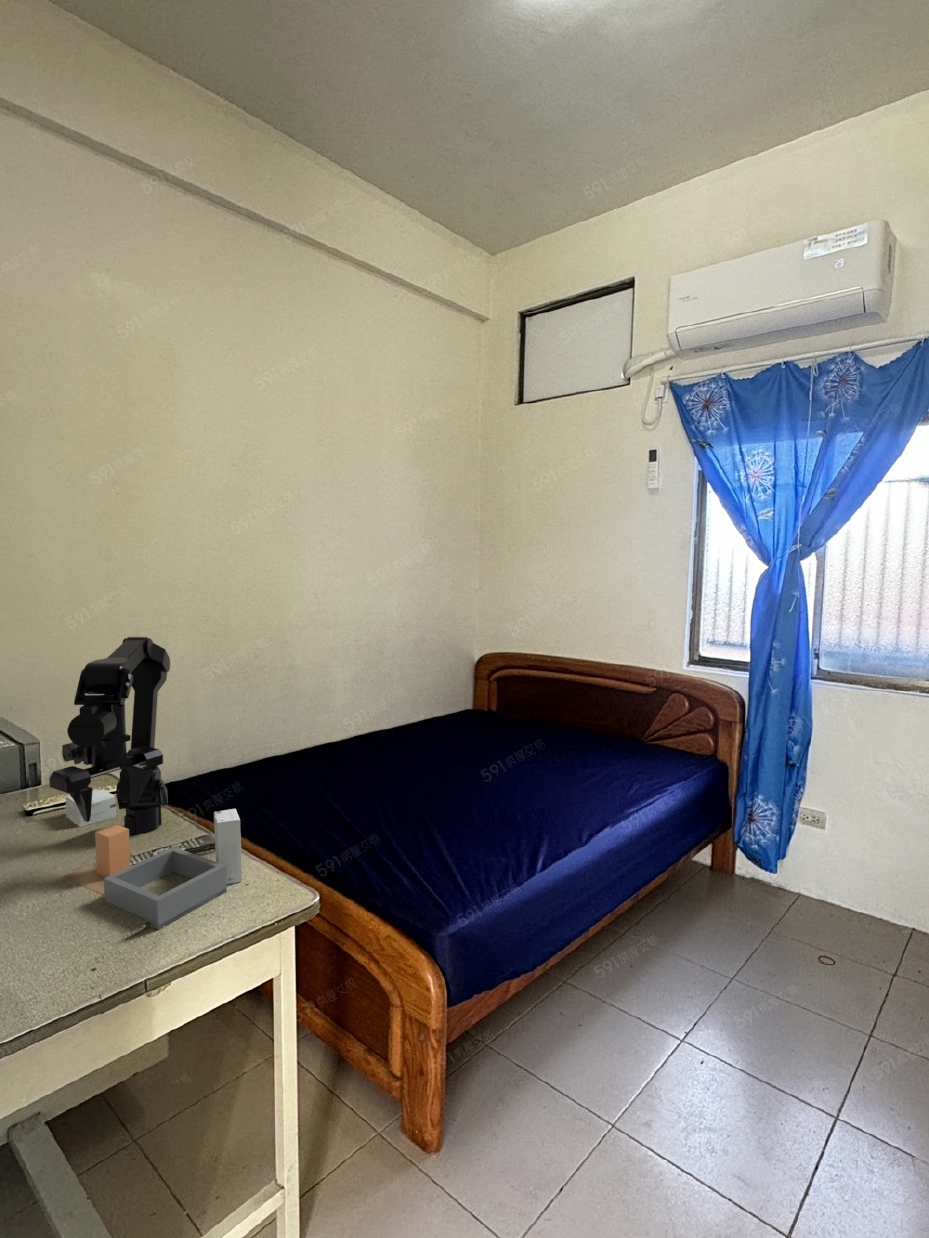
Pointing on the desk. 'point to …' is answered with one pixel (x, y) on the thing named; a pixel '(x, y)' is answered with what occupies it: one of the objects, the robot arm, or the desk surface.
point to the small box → (93, 808)
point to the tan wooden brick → (112, 850)
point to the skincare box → (228, 843)
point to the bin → (174, 902)
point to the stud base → (89, 878)
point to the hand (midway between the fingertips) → (111, 812)
